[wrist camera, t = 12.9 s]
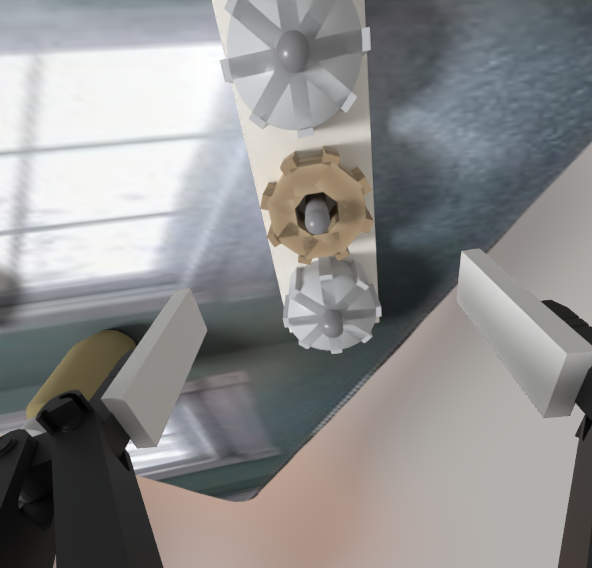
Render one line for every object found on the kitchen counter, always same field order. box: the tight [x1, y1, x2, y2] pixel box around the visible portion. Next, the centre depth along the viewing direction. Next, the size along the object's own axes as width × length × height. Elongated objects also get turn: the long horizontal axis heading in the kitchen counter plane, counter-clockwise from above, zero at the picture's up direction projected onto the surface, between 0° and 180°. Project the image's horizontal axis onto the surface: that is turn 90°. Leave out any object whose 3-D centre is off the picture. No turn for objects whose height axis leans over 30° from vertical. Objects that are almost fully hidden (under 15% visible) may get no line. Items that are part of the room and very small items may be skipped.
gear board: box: [212, 0, 381, 354], centre depth 27 cm, size 32×11×9 cm, turn 10°
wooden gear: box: [260, 146, 374, 265], centre depth 28 cm, size 9×9×4 cm
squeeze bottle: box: [20, 330, 137, 437], centre depth 35 cm, size 8×8×18 cm
